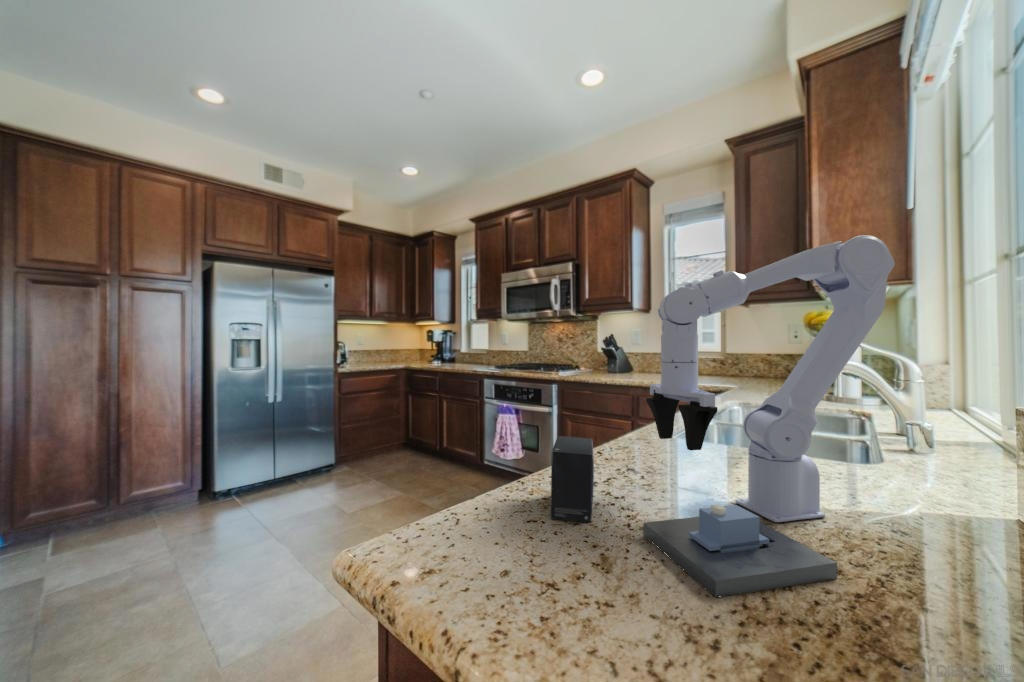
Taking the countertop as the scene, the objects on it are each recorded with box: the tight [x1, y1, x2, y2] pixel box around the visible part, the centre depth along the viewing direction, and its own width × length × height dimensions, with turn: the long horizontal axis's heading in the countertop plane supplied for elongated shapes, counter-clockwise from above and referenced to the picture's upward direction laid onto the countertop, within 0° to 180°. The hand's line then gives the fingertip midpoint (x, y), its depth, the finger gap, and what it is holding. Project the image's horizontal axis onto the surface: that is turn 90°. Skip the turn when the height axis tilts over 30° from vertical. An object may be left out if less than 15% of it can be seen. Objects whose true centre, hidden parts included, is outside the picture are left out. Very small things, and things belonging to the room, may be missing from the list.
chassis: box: [642, 516, 838, 598], centre depth 51 cm, size 16×14×2 cm
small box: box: [549, 435, 595, 523], centre depth 65 cm, size 11×6×10 cm, turn 168°
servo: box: [689, 504, 769, 554], centre depth 51 cm, size 9×4×6 cm, turn 103°
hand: (679, 443), depth 67 cm, fingers open, 7 cm apart
